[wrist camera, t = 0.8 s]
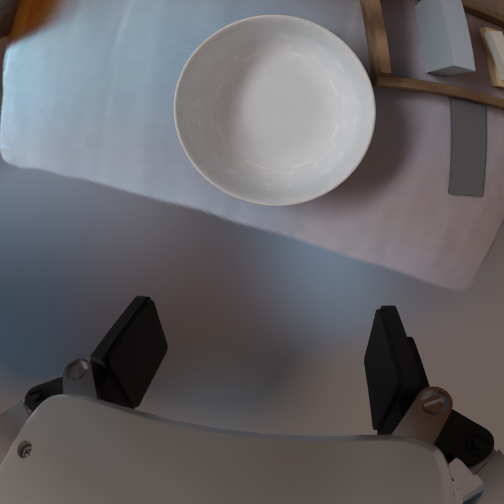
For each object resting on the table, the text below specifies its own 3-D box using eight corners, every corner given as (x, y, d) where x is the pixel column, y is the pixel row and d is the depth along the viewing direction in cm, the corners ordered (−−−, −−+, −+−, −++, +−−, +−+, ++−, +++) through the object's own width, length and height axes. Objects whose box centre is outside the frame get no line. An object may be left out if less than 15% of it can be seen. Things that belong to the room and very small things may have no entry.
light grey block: (414, 6, 21) (437, -13, 14) (433, 11, 21) (459, -6, 14) (425, 73, 26) (453, 65, 19) (444, 76, 25) (475, 70, 18)
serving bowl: (363, 39, 26) (376, 23, 20) (354, 197, 35) (365, 215, 29) (195, 35, 28) (174, 21, 22) (195, 186, 38) (175, 201, 32)
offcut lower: (477, 29, 20) (485, 26, 18) (492, 33, 19) (499, 31, 17) (489, 85, 24) (497, 85, 22) (503, 88, 23) (511, 89, 21)
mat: (449, 98, 26) (451, 98, 26) (483, 105, 25) (485, 106, 25) (448, 192, 32) (450, 194, 31) (480, 195, 31) (482, 196, 30)
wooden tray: (355, -18, 22) (361, -32, 18) (510, 25, 17) (526, 21, 13) (372, 86, 28) (382, 82, 24) (523, 115, 23) (541, 118, 19)
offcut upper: (483, 33, 19) (490, 31, 17) (494, 33, 18) (501, 31, 16) (501, 80, 21) (508, 80, 20) (511, 79, 20) (519, 79, 19)
